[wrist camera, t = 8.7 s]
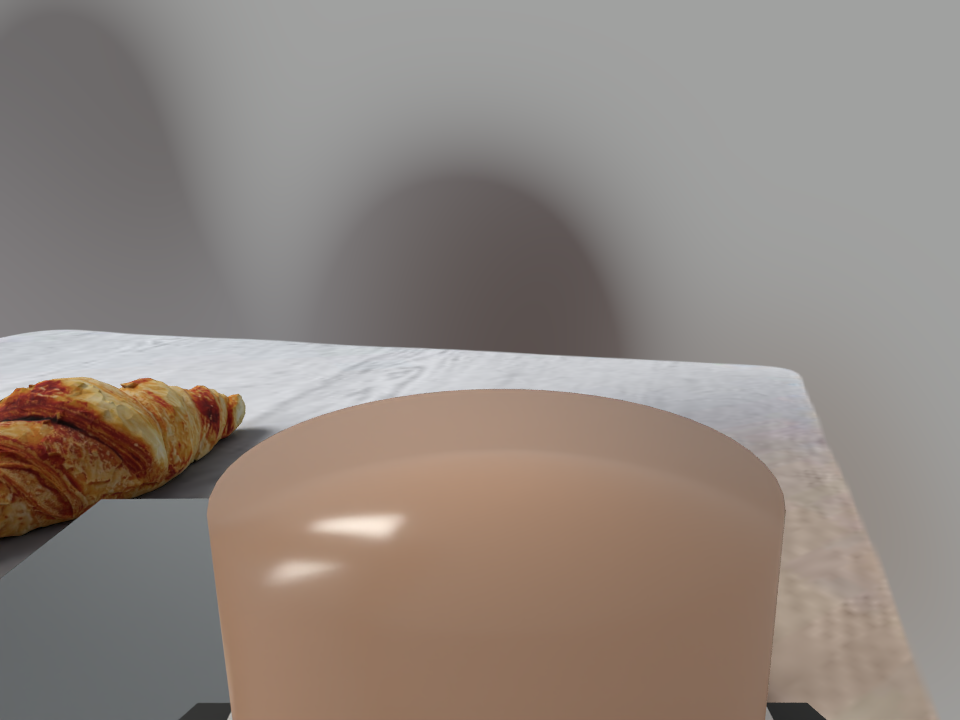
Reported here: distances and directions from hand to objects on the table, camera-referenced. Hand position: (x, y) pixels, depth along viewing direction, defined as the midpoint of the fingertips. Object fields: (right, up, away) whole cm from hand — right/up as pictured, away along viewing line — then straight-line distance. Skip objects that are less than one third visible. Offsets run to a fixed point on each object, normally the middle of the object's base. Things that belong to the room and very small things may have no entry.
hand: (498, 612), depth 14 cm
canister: (0, -8, -3) cm, 8 cm away
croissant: (-22, -2, +25) cm, 34 cm away
